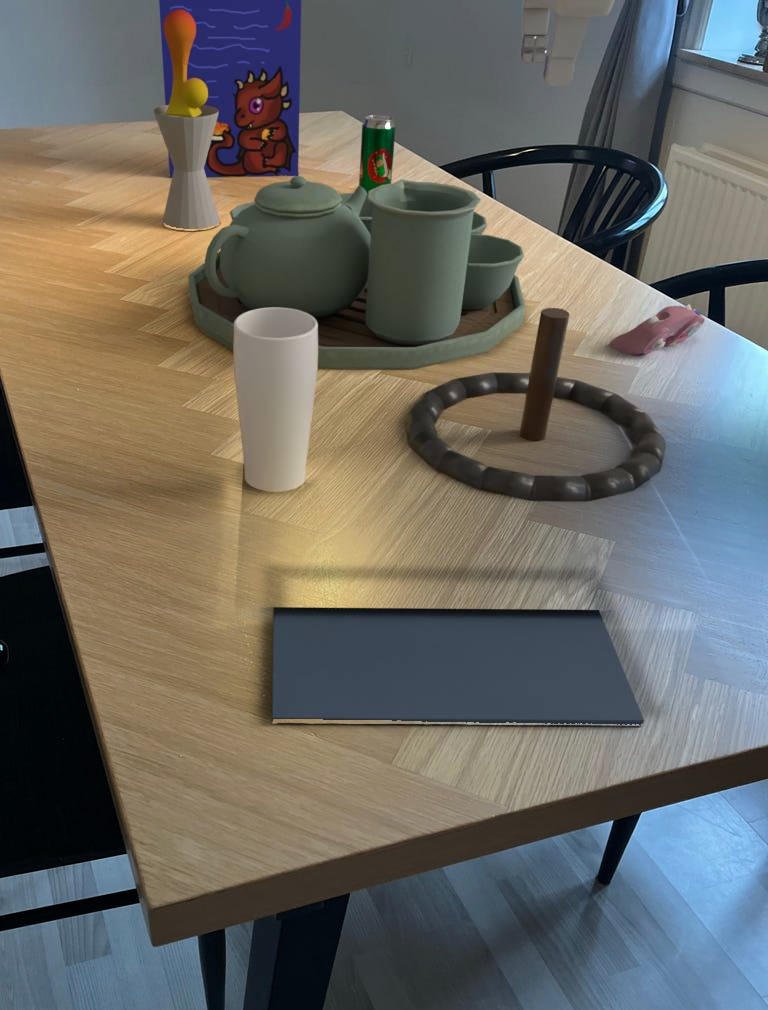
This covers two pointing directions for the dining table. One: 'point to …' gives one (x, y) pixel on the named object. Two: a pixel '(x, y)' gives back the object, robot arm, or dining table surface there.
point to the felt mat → (448, 666)
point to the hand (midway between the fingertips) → (543, 72)
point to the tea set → (365, 272)
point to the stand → (543, 373)
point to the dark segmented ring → (527, 486)
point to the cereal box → (245, 81)
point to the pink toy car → (660, 331)
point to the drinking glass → (275, 394)
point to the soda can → (376, 151)
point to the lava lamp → (187, 133)
